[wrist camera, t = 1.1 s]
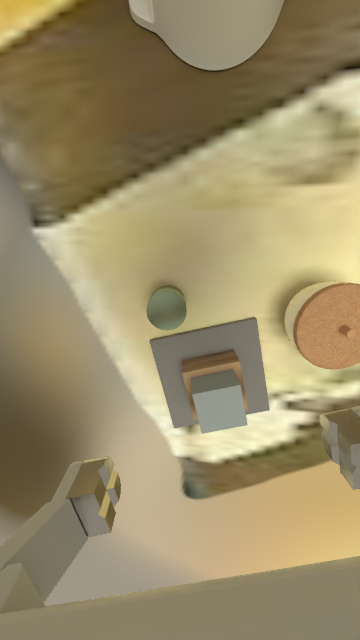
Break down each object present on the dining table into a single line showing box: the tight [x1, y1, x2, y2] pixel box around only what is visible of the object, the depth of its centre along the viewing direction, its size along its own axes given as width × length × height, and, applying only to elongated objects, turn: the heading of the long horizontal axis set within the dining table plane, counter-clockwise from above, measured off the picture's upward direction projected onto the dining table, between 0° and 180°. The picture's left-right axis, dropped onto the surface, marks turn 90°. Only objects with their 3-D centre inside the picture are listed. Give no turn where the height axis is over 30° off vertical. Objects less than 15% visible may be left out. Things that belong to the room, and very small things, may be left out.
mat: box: [150, 317, 269, 428], centre depth 39 cm, size 16×16×1 cm
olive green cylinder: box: [147, 286, 186, 330], centre depth 34 cm, size 5×5×5 cm
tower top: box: [191, 369, 247, 433], centre depth 33 cm, size 6×6×4 cm
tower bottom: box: [182, 349, 248, 420], centre depth 37 cm, size 8×8×4 cm
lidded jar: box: [284, 281, 360, 369], centre depth 32 cm, size 11×11×9 cm
